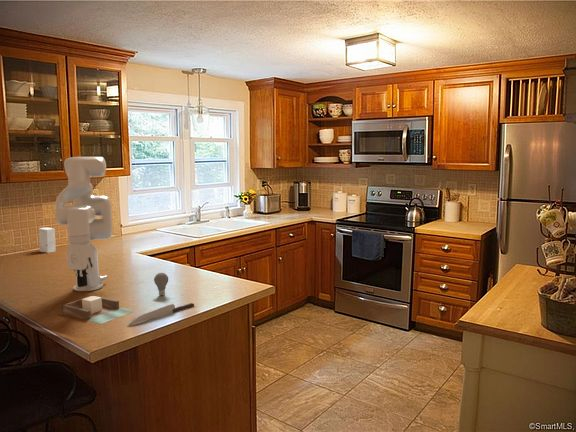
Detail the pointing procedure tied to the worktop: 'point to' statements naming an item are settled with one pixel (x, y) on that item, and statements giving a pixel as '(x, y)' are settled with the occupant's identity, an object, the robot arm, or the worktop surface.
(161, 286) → the light bulb
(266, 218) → the worktop surface
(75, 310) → the walnut cubby
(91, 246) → the robot arm
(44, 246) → the skincare box
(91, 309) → the cream block
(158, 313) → the kitchen knife
